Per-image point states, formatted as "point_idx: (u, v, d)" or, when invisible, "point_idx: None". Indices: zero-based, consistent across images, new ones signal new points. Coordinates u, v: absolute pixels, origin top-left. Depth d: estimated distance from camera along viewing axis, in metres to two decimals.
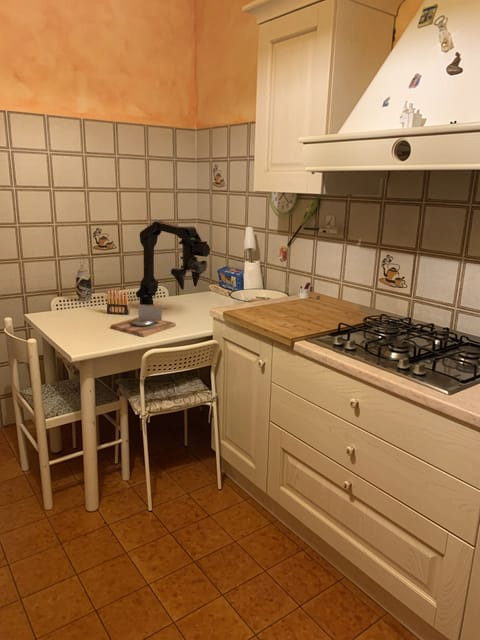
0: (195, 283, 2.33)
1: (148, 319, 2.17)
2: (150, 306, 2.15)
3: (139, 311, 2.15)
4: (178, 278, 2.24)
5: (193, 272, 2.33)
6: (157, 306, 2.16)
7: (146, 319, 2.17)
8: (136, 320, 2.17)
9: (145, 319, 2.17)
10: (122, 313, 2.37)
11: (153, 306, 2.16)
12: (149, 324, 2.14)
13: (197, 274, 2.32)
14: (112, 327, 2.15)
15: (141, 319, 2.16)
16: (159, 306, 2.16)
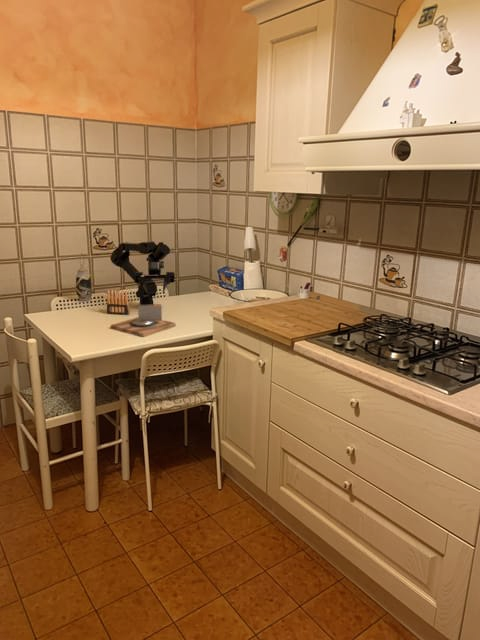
0: (163, 289, 2.31)
1: (148, 319, 2.17)
2: (150, 306, 2.15)
3: (139, 311, 2.15)
4: (143, 284, 2.32)
5: None
6: (157, 306, 2.16)
7: (146, 319, 2.17)
8: (136, 320, 2.17)
9: (145, 319, 2.17)
10: (122, 313, 2.37)
11: (153, 306, 2.16)
12: (149, 324, 2.14)
13: None
14: (112, 327, 2.15)
15: (141, 319, 2.16)
16: (159, 306, 2.16)
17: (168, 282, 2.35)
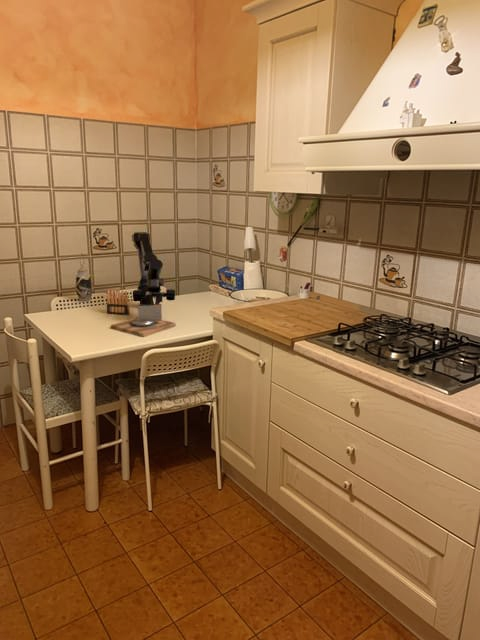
0: None
1: (148, 319, 2.17)
2: (150, 306, 2.15)
3: (139, 311, 2.15)
4: (150, 302, 2.22)
5: None
6: (157, 306, 2.16)
7: (146, 319, 2.17)
8: (136, 320, 2.18)
9: (145, 319, 2.17)
10: (122, 313, 2.37)
11: (153, 306, 2.15)
12: (149, 324, 2.14)
13: None
14: (112, 327, 2.15)
15: (141, 319, 2.16)
16: (159, 306, 2.16)
17: (160, 300, 2.23)
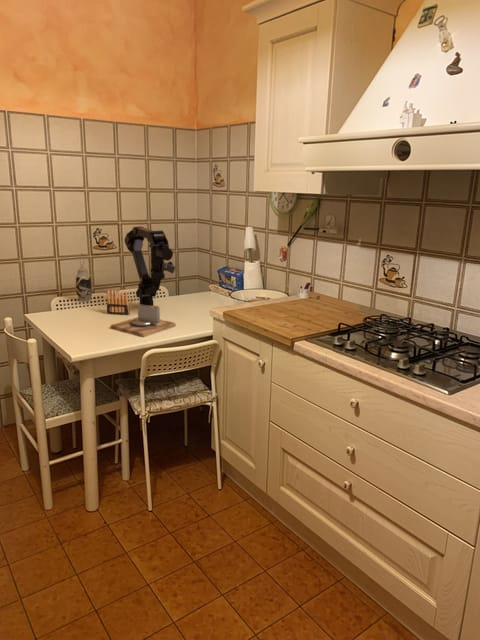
0: None
1: (146, 320, 2.16)
2: (147, 307, 2.14)
3: (138, 310, 2.16)
4: (155, 279, 2.33)
5: None
6: (153, 308, 2.12)
7: (144, 319, 2.16)
8: (138, 319, 2.19)
9: (143, 319, 2.16)
10: (122, 313, 2.37)
11: (150, 307, 2.13)
12: (142, 325, 2.13)
13: None
14: (112, 327, 2.15)
15: (140, 319, 2.17)
16: (155, 308, 2.12)
17: None
